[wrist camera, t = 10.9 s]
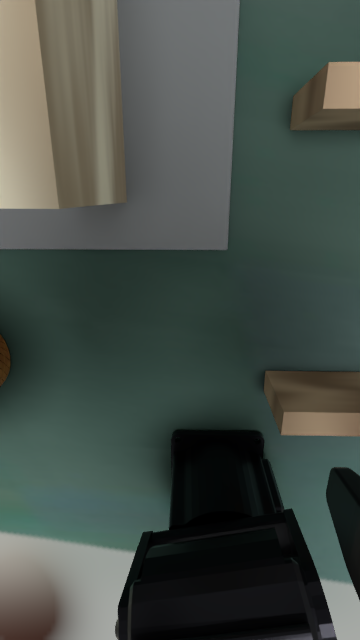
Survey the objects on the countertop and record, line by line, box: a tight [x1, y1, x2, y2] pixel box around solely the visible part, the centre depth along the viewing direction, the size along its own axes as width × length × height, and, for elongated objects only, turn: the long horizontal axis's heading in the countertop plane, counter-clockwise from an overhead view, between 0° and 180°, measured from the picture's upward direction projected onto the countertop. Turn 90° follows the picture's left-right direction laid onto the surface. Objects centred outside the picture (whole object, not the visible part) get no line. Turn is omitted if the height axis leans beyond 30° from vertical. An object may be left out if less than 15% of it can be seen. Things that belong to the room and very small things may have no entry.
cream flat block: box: [0, 0, 127, 209], centre depth 11 cm, size 3×11×10 cm, turn 0°
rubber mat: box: [0, 0, 240, 250], centre depth 16 cm, size 14×16×1 cm
